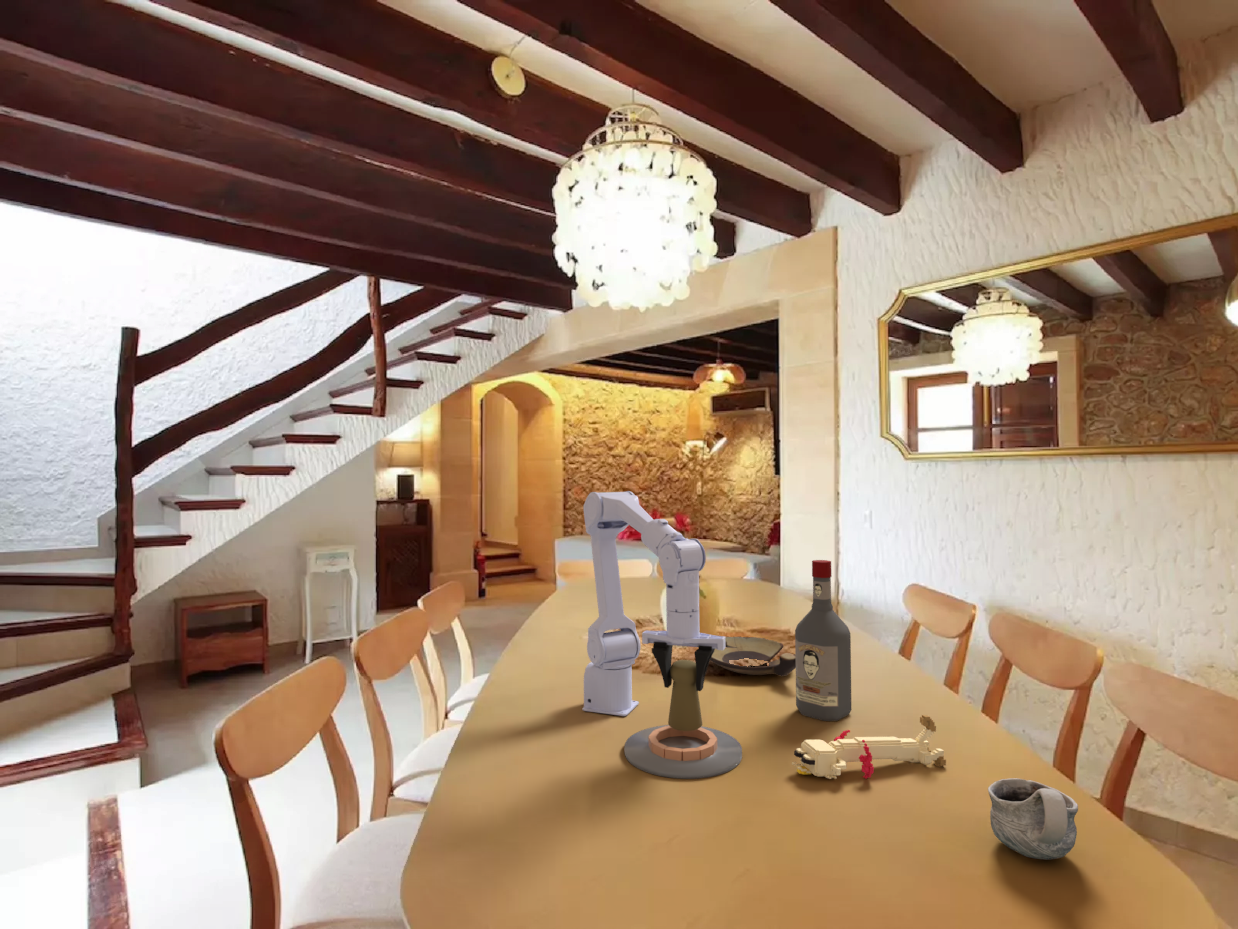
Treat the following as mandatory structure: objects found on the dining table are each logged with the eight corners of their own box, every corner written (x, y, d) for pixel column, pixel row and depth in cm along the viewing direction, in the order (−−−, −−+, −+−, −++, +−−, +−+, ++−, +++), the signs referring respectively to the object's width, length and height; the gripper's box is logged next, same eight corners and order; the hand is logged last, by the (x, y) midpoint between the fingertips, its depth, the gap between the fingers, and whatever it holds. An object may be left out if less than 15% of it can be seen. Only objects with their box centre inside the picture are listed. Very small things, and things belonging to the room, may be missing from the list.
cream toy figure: (913, 756, 116) (780, 759, 111) (916, 705, 116) (783, 705, 111) (954, 782, 106) (810, 786, 101) (957, 726, 107) (813, 728, 101)
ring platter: (606, 767, 110) (606, 752, 110) (646, 724, 128) (646, 711, 128) (728, 787, 102) (728, 770, 102) (751, 738, 121) (751, 724, 121)
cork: (700, 732, 115) (700, 669, 114) (665, 729, 116) (665, 667, 115) (703, 717, 121) (703, 657, 120) (670, 714, 122) (670, 655, 121)
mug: (1049, 831, 89) (1048, 755, 89) (1116, 889, 77) (1114, 801, 77) (975, 830, 90) (974, 754, 90) (1029, 888, 77) (1028, 800, 77)
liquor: (814, 701, 140) (812, 557, 140) (856, 712, 134) (854, 560, 134) (791, 712, 134) (789, 561, 134) (833, 724, 127) (831, 565, 128)
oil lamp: (774, 654, 177) (774, 624, 177) (824, 690, 147) (823, 655, 147) (691, 657, 174) (691, 628, 174) (725, 696, 144) (725, 660, 144)
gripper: (635, 611, 116) (636, 690, 116) (718, 616, 111) (719, 699, 111) (648, 603, 123) (649, 678, 123) (727, 608, 118) (728, 686, 117)
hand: (683, 687), depth 117 cm, fingers closed on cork, 5 cm apart
